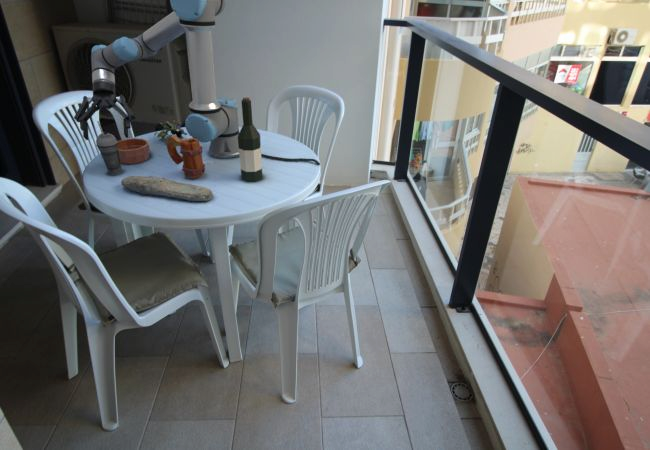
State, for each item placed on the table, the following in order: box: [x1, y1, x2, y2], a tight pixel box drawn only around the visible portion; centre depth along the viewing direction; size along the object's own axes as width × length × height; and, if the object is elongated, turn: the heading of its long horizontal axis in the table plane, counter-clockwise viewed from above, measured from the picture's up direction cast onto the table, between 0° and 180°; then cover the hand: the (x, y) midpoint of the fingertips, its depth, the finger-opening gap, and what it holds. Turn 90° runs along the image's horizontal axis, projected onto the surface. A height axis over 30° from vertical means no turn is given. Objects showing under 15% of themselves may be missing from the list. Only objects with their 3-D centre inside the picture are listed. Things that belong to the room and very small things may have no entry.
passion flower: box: [153, 120, 188, 142], centre depth 179 cm, size 11×11×12 cm
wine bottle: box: [238, 97, 263, 183], centre depth 143 cm, size 8×8×30 cm
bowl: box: [117, 137, 151, 165], centre depth 162 cm, size 14×14×6 cm
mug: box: [166, 134, 206, 180], centre depth 147 cm, size 15×8×15 cm, turn 71°
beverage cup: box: [95, 120, 123, 176], centre depth 146 cm, size 7×7×20 cm
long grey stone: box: [120, 175, 214, 202], centre depth 137 cm, size 35×5×10 cm
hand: (106, 137), depth 144 cm, fingers open, 13 cm apart
